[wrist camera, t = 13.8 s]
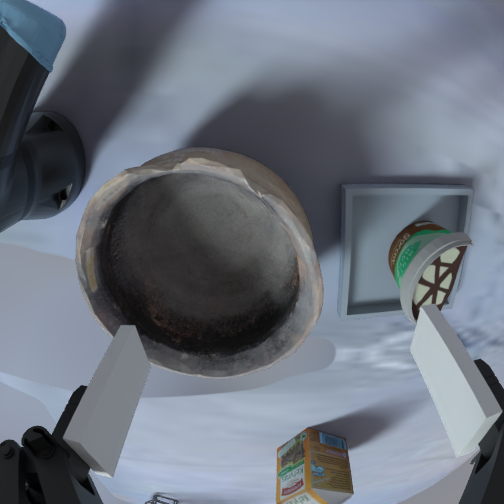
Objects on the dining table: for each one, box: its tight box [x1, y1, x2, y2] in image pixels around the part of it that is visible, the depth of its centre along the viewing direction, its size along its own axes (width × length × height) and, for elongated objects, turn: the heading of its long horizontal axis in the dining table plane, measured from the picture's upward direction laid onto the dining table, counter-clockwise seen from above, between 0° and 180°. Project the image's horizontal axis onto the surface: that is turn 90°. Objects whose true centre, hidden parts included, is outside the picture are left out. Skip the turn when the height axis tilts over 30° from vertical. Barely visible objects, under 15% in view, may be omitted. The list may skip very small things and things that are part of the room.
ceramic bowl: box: [75, 147, 323, 379], centre depth 32 cm, size 22×22×15 cm
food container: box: [388, 220, 474, 325], centre depth 33 cm, size 12×6×10 cm, turn 172°
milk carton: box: [276, 428, 354, 504], centre depth 49 cm, size 11×11×19 cm
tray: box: [337, 183, 474, 321], centre depth 37 cm, size 18×18×2 cm
